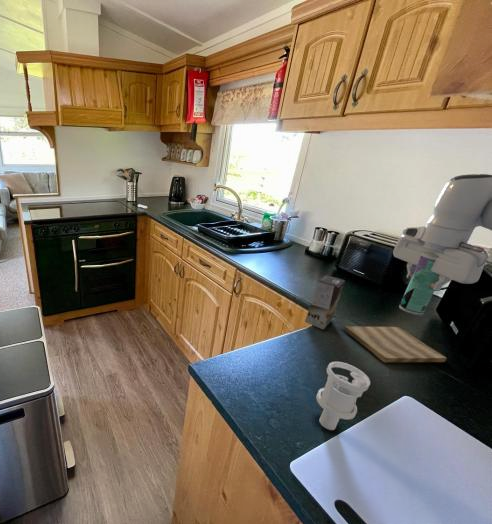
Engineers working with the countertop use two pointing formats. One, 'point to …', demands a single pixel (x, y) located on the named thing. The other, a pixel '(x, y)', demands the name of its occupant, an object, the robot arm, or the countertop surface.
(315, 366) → the countertop surface
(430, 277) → the spray can
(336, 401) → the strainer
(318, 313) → the coffee box
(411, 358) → the chopping board
